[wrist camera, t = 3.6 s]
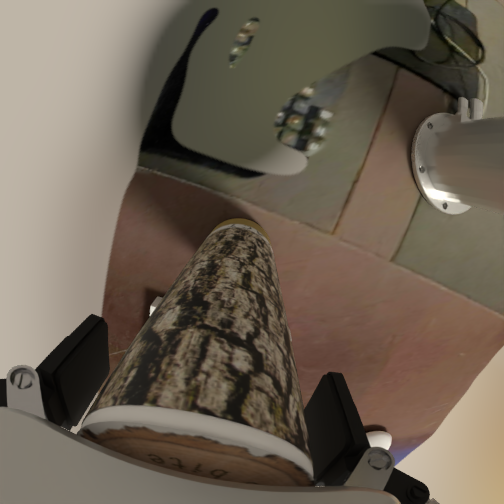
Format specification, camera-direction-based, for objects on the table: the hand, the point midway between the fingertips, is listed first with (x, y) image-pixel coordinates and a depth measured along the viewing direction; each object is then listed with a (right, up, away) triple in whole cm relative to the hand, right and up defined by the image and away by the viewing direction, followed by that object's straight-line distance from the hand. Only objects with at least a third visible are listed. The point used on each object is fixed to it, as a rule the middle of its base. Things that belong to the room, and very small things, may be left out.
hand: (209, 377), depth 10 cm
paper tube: (0, +5, +19) cm, 20 cm away
